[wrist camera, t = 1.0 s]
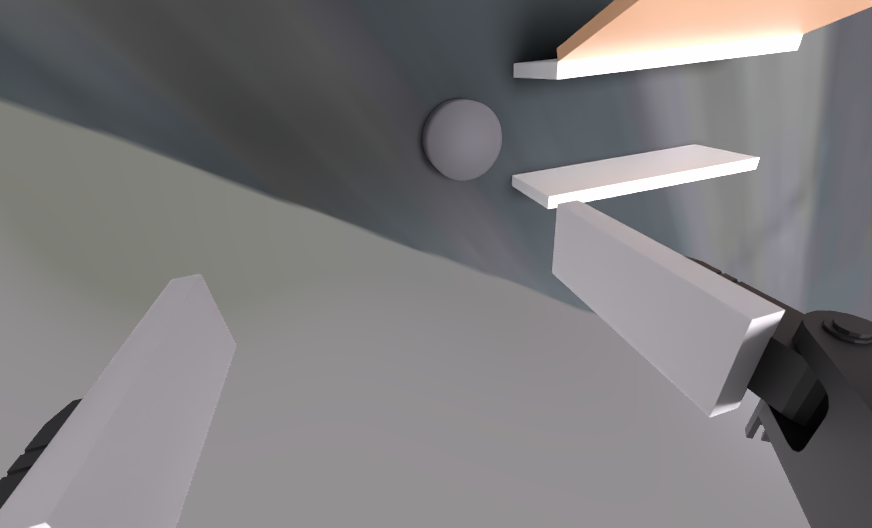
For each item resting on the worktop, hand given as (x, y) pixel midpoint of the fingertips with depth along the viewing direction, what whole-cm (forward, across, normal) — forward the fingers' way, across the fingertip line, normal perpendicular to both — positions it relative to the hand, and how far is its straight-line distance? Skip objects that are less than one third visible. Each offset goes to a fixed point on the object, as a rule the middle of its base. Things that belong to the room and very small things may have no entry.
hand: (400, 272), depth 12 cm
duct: (+20, +23, 0) cm, 31 cm away
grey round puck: (+20, +8, 0) cm, 22 cm away
